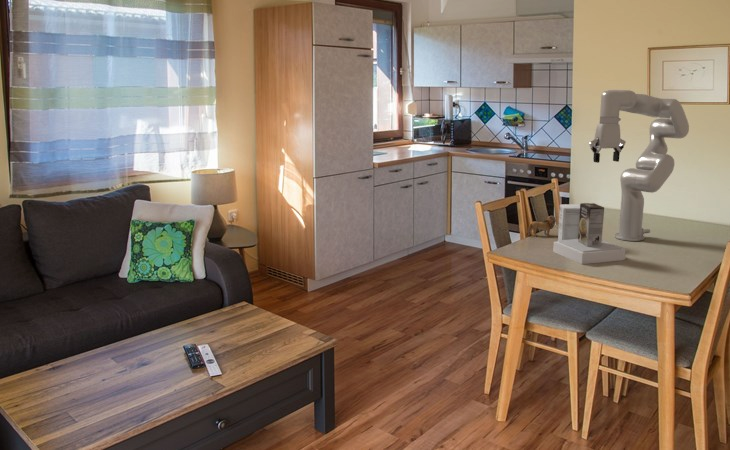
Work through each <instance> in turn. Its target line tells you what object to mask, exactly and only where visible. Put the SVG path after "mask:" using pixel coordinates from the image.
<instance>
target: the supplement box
mask: <svg viewBox="0 0 730 450" xmlns="http://www.w3.org/2000/svg"><path fill="white" fill-rule="evenodd" d="M580 204H581V203H580ZM580 204H578V203H577V204H572V203H571V204H569V203H568V204H566V203H565V204H559V212H558V213H559V214H558V216H559V217H558V234H557V235H558V237H557V241H559V240H570V239H578V232H579V216H580Z"/></svg>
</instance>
